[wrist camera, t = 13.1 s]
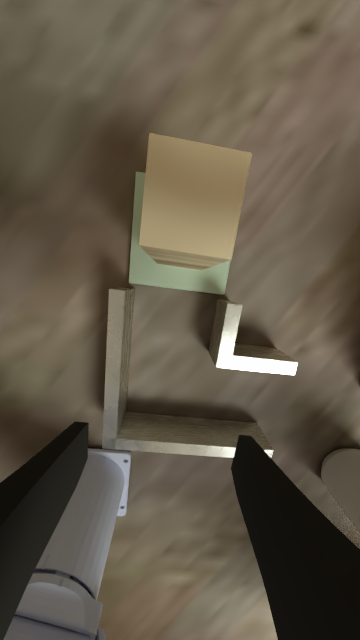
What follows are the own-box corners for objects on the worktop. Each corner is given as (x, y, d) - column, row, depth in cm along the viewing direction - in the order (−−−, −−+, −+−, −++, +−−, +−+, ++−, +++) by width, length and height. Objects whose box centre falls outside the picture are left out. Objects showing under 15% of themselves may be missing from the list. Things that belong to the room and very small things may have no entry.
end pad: (223, 294, 18) (224, 294, 17) (129, 282, 17) (128, 282, 17) (241, 190, 16) (242, 188, 15) (136, 174, 15) (135, 171, 15)
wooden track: (255, 431, 21) (270, 460, 18) (114, 420, 20) (102, 448, 17) (285, 307, 18) (311, 313, 15) (121, 287, 17) (108, 288, 14)
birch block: (200, 270, 17) (231, 259, 8) (157, 264, 16) (139, 245, 8) (208, 223, 16) (252, 152, 7) (163, 216, 16) (149, 132, 7)
